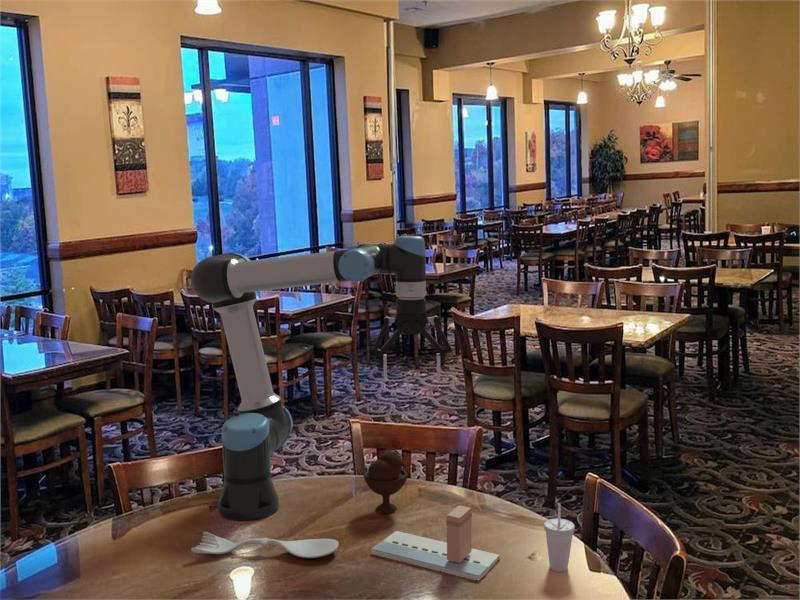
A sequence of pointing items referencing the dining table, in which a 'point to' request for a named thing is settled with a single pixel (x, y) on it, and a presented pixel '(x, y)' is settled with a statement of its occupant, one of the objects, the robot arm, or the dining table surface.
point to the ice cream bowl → (386, 479)
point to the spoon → (297, 548)
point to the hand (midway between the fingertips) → (411, 380)
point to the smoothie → (559, 541)
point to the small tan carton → (459, 533)
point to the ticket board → (434, 555)
